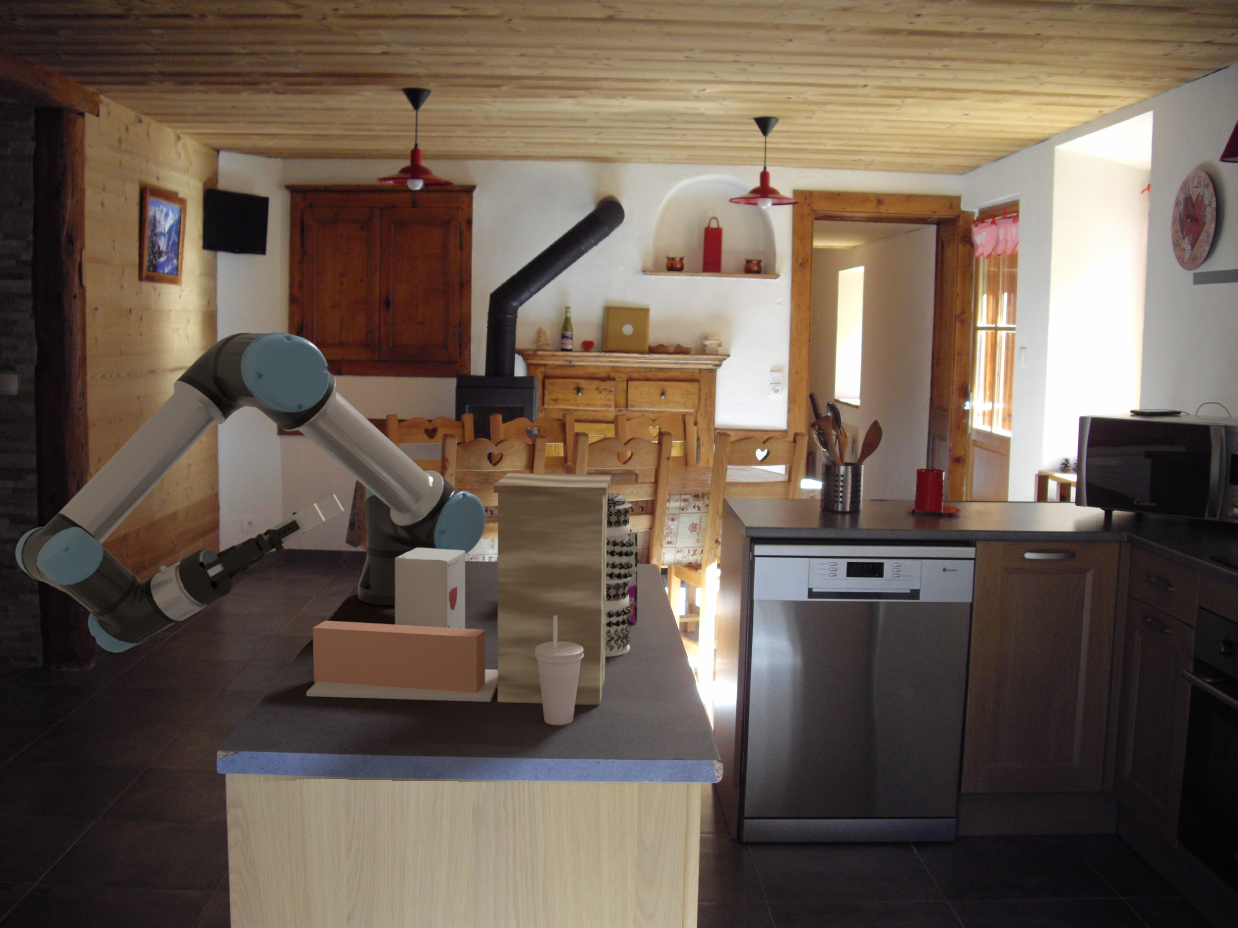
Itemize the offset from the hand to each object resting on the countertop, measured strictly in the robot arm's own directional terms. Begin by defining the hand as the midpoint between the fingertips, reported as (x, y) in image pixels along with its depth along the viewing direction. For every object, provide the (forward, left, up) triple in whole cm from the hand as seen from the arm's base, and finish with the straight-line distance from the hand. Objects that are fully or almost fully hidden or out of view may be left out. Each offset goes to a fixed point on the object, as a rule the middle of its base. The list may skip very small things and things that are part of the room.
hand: (329, 507), depth 147 cm
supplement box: (-20, +10, -26) cm, 34 cm away
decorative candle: (-20, +38, -26) cm, 50 cm away
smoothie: (+12, +34, -26) cm, 44 cm away
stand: (0, +32, -25) cm, 41 cm away
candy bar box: (-35, +37, -26) cm, 57 cm away
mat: (0, +11, -25) cm, 28 cm away
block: (+1, +10, -25) cm, 27 cm away
